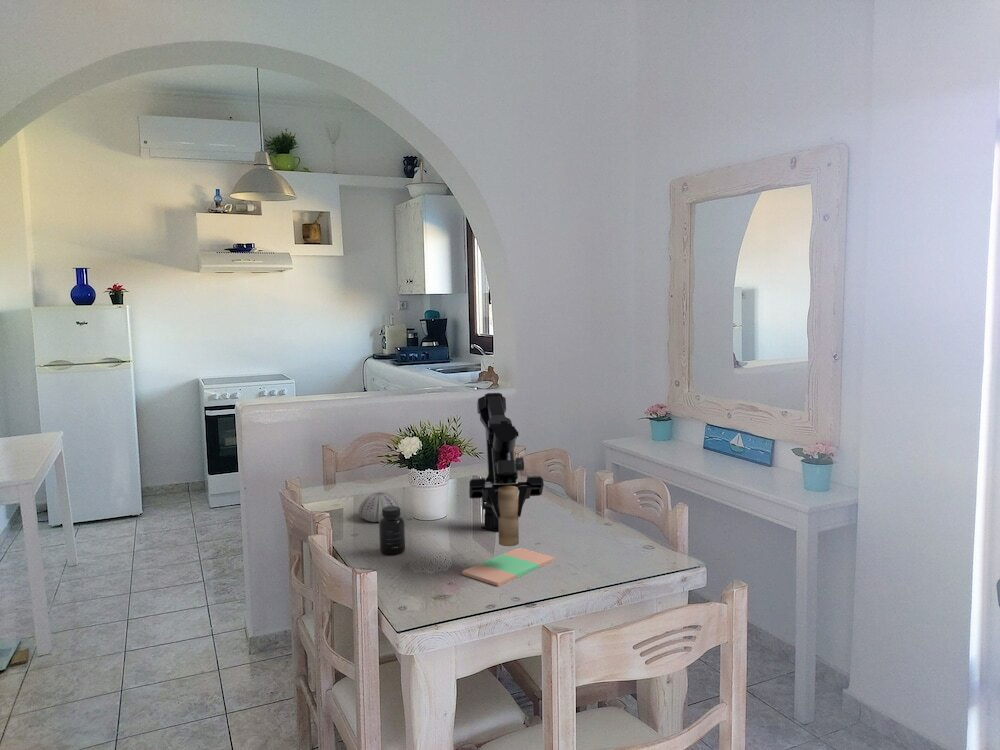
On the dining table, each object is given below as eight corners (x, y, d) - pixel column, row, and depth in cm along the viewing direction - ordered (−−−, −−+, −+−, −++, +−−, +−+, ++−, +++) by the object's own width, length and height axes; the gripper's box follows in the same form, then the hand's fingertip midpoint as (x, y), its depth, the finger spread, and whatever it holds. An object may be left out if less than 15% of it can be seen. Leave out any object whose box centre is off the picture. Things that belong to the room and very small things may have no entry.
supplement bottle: (377, 549, 198) (376, 506, 197) (402, 546, 200) (400, 503, 199) (382, 557, 191) (381, 513, 190) (408, 554, 194) (406, 510, 193)
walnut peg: (502, 539, 185) (501, 485, 184) (520, 540, 184) (520, 486, 183) (496, 545, 181) (495, 490, 179) (515, 547, 179) (515, 491, 178)
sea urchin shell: (401, 510, 235) (400, 486, 234) (402, 523, 221) (401, 497, 221) (359, 513, 233) (358, 488, 232) (358, 526, 219) (357, 500, 219)
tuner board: (519, 550, 195) (519, 547, 195) (554, 560, 187) (554, 557, 187) (461, 574, 179) (461, 571, 179) (498, 586, 171) (498, 583, 171)
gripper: (468, 447, 183) (472, 502, 173) (542, 445, 185) (549, 499, 175) (467, 471, 192) (471, 524, 182) (537, 468, 193) (544, 521, 184)
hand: (508, 517), depth 180 cm, fingers closed on walnut peg, 5 cm apart
